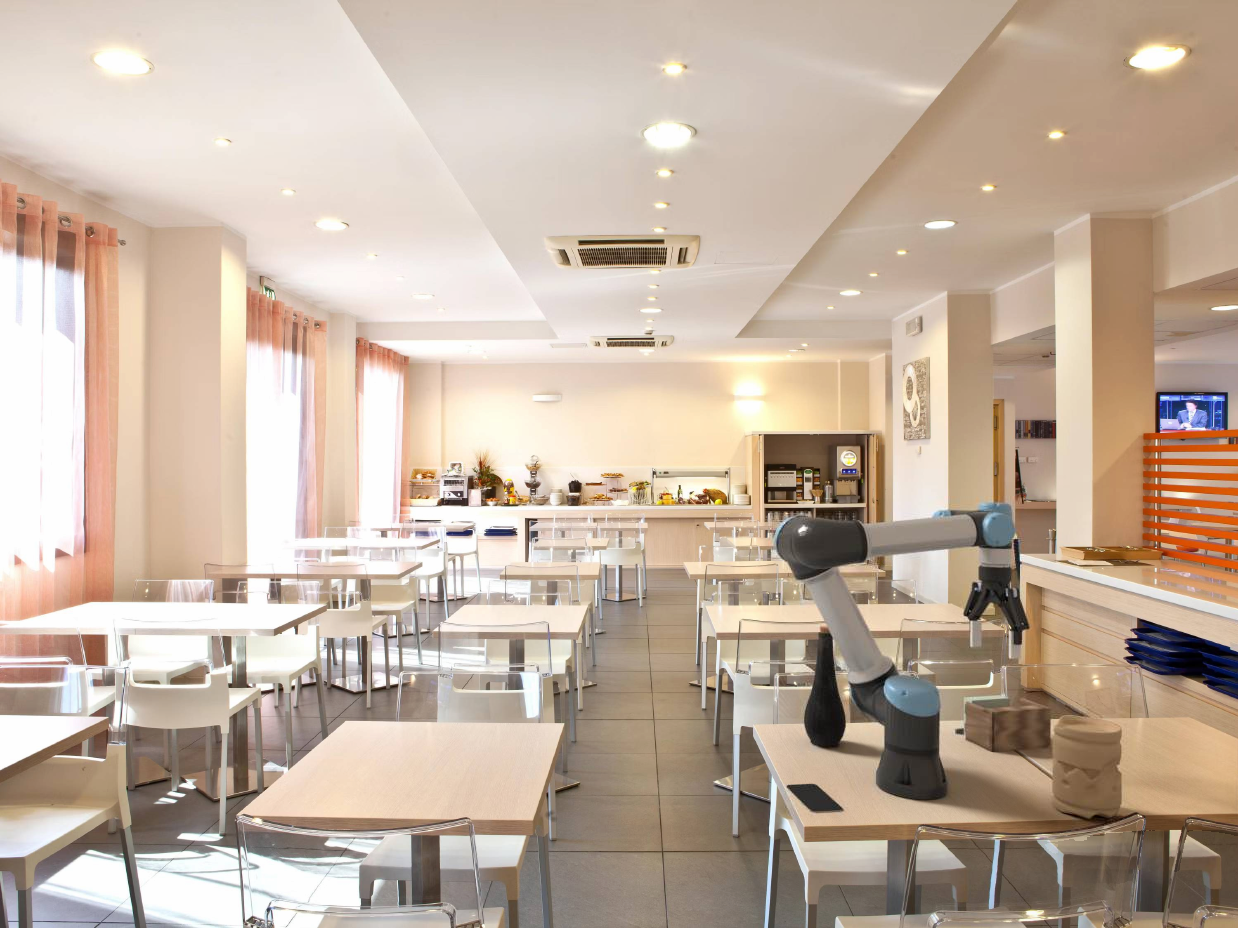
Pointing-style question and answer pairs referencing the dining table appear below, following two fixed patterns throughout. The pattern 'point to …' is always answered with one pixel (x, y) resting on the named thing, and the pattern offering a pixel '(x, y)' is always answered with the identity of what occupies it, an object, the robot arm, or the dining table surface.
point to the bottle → (825, 698)
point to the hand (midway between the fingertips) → (994, 652)
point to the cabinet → (1008, 726)
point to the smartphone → (814, 798)
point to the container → (1086, 766)
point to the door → (987, 702)
